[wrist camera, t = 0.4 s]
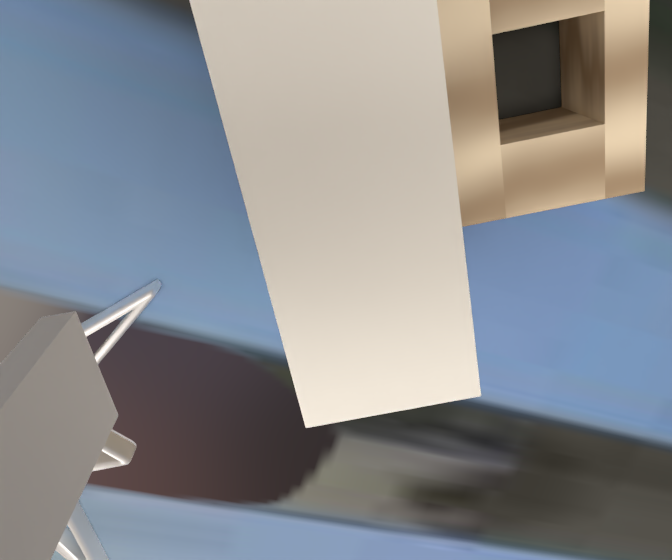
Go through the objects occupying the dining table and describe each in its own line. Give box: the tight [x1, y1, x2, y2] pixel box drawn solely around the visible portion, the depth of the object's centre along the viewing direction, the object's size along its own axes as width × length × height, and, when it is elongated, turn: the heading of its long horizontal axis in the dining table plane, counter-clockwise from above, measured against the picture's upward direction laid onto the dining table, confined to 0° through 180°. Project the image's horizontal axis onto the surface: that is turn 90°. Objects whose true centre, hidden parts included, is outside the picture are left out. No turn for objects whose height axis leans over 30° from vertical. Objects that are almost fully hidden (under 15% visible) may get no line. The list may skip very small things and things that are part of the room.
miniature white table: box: [189, 0, 481, 428], centre depth 27 cm, size 16×6×20 cm, turn 11°
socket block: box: [437, 0, 649, 227], centre depth 33 cm, size 14×17×6 cm
